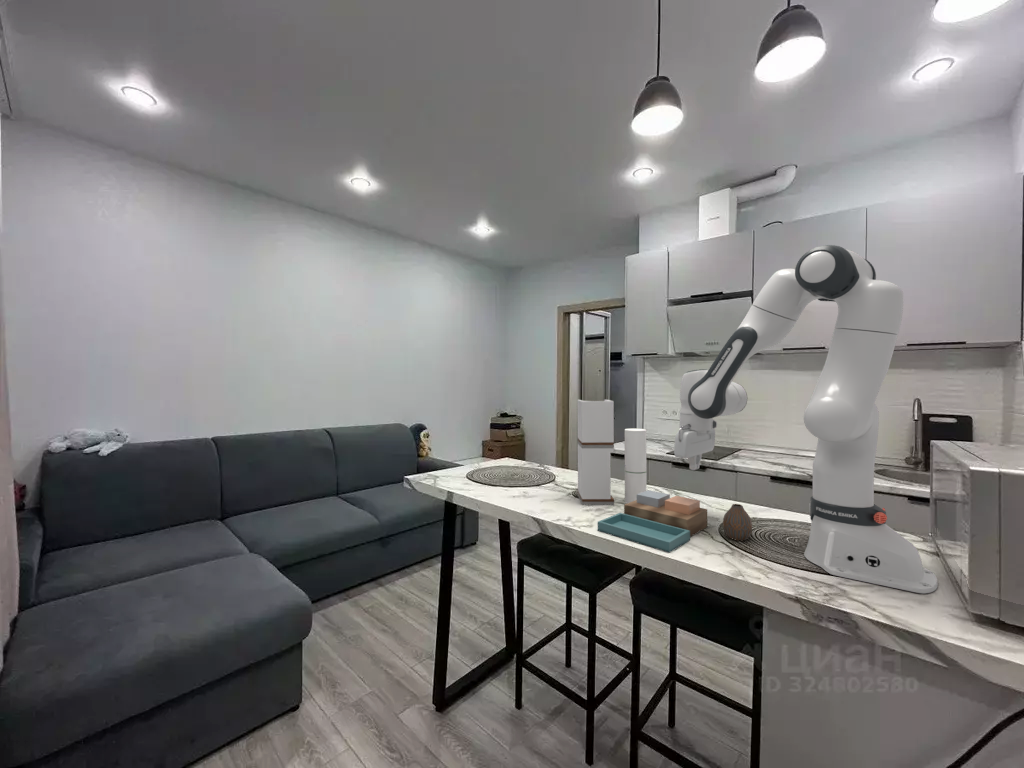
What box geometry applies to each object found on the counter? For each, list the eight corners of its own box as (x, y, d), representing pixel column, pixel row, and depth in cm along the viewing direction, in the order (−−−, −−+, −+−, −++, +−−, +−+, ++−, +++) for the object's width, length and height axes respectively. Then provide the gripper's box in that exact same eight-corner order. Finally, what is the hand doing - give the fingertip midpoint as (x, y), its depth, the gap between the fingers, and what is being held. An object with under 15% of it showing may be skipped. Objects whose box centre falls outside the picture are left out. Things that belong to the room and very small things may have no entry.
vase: (723, 531, 117) (723, 500, 117) (752, 536, 113) (752, 503, 113) (721, 539, 111) (721, 506, 111) (752, 545, 107) (752, 510, 107)
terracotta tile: (699, 509, 121) (699, 500, 121) (689, 514, 116) (689, 505, 116) (676, 504, 126) (676, 495, 126) (664, 509, 121) (664, 500, 121)
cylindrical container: (644, 499, 148) (643, 428, 148) (648, 505, 141) (648, 430, 141) (623, 499, 149) (623, 428, 149) (626, 505, 142) (626, 430, 142)
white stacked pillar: (614, 505, 142) (613, 401, 141) (582, 505, 142) (581, 401, 142) (607, 495, 153) (606, 399, 153) (577, 495, 154) (577, 399, 153)
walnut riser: (707, 526, 121) (707, 509, 121) (687, 538, 112) (687, 519, 112) (646, 511, 134) (646, 496, 134) (624, 521, 126) (624, 504, 126)
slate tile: (669, 502, 127) (669, 494, 127) (658, 507, 122) (658, 499, 122) (648, 498, 132) (648, 490, 132) (636, 502, 128) (636, 494, 127)
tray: (690, 540, 111) (690, 530, 111) (669, 552, 103) (669, 542, 103) (620, 520, 126) (620, 512, 126) (597, 530, 118) (597, 521, 118)
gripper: (690, 427, 117) (689, 476, 118) (719, 421, 131) (718, 466, 132) (668, 425, 122) (668, 472, 122) (699, 420, 136) (698, 462, 136)
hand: (694, 469), depth 127 cm, fingers closed
